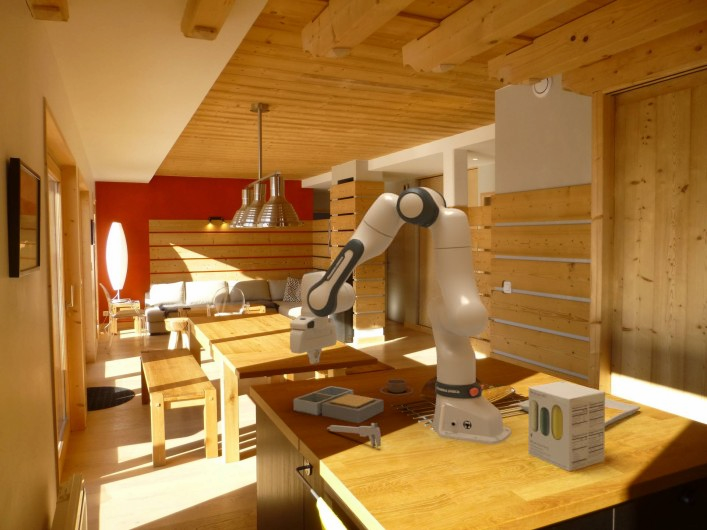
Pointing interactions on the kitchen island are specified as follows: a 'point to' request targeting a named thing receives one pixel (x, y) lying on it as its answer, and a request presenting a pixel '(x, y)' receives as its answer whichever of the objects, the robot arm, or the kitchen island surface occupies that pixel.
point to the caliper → (361, 432)
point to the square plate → (609, 403)
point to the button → (353, 401)
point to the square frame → (352, 411)
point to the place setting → (396, 387)
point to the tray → (318, 399)
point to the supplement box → (566, 424)
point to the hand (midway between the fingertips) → (314, 363)
